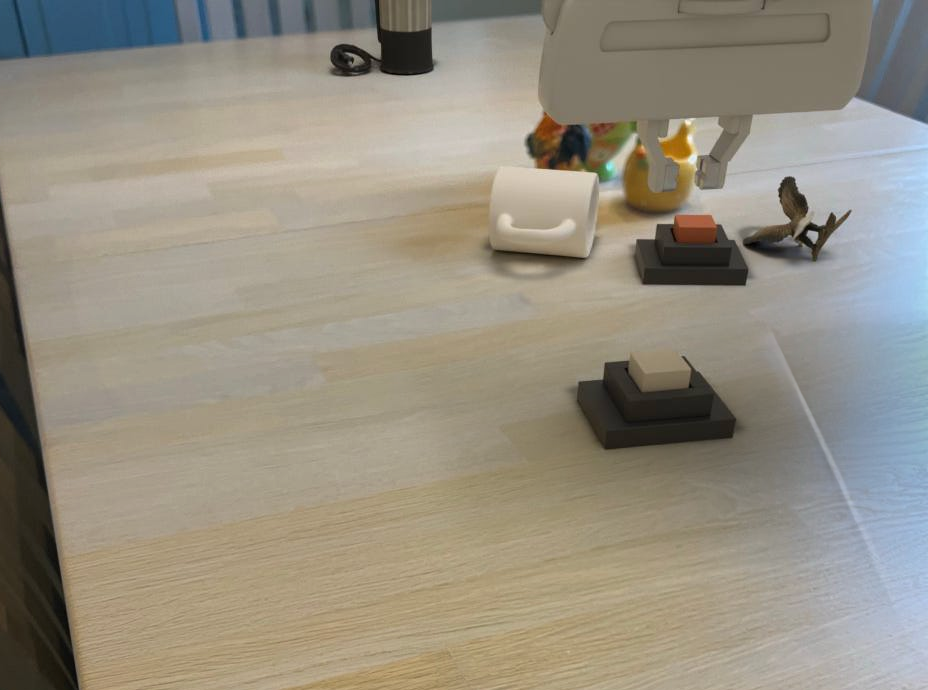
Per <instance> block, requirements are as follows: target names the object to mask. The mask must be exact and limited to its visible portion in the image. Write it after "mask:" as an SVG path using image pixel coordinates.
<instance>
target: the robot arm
mask: <svg viewBox="0 0 928 690" xmlns="http://www.w3.org/2000/svg"><path fill="white" fill-rule="evenodd" d="M540 11H541V17H542V21H543V23H544V26H545V28H546V30H545V35H544V40H543V45H542V50H541V51H542V52H541V58H540V67H539V74H538V85H537V87H538V88H537V98H538V102H539V105H540V106H541V108H542V109H543V111H544V112H545V114H546V115H547V116H548V117H549V118H550V119H552V121H554V122H555V123H556V124H557V125H560V126H571V125H572V126H575V125H593V124H613V123H626V122H627V123H630V122H636V128H635V131H636V133H637V136H638V138H639V140H640V143H641V145H642V148H643V149H644V152H645V155H646V157H647V159H648V160H649V164H648V173H647V188H648V190H650V191H651V192H652V193H653V194H660V193H670V192H676V191H677V188H678V181H677V178H678V177H679V175H680V166H681V164H680V163H678V162H677V161H675V159H674V158H672V157H671V156H670V157H669V156H667V157H666V155H665V153H664V150H663V147H662V145H661V143H660V140H659V139H665V138H667V137H668V135H669V126H670V120H684V119H701V118H704V119H705V118H717V119H718V120H717V125H718V126H719V127H720V128H722V129H723V130H722V132H721V133H720V135H719V137H718V138H717V140H716V141H715V144H714V145H713V146H712V148H711V150H710V152H709V153H708V154H701V155H697V157H696V163H695V167H696V169H697V170H696V171H695V173H694V185H695V187H697V188H699V190H701V191H705V190H721V189H723V188H724V186H725V183H726V177H727V170H728V164H729V162H731V161H732V159H733V158H734V157H735V155H736V154H737V152H738V151H739V149H740V148H741V147H742V145H743V144H744V142H745V140H746V139H747V138H748V137H749V135H750V134H751V127H752V122H753V116H758V115H759V116H760V115H778V114H795V113H811V112H815V113H816V112H830V111H831V112H832V111H842V110H843V109H844V108H846V106H847V105H848V104H849V103H850V102H851V101H852V100H853V98H854V97H855V96H856V95H857V93H859V90H860V87H861V85H862V81H863V77H864V73H865V67H866V63H867V58H868V54H869V53H868V51H869V47H870V39H871V33H872V26H873V17H874V0H541V7H540Z"/></svg>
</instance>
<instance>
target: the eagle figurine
mask: <svg viewBox="0 0 928 690" xmlns="http://www.w3.org/2000/svg"><path fill="white" fill-rule="evenodd" d="M796 180H797V179H796V178H795V176H790V175H788V176H785V177H784V178H783V179H782V180H781V182H780V183H779V187H778V189H777V192H778V195H777V196H778V198H779V204H780V205H781V208H782V212H783V214H784V215H785V216H786V217H787V218H788V219H789V220H790V221H789V222H788V223H785V224H771V225H767V226H766V225H765V226H763V227H762V228H759V229H758V230H757V231H755V232H754V233H753V234H752V235H750V236H746V237H745V238H743V241H742V243H743V244H746V245H747V244H752V243H758V242H766V243H768V244H774V243H780V242H782V241H784V239H786V238H788V237H789V236H791V237H792V239H791V240H792V241H794V243H795V244H798V245H799V246H800V247H804V245H805V247H807V248H809V249H811V256H812V258H811V259H812V261H813V262H816V261H818V257H819V253H820V252H821V250H822V248H823V246H824V245H825V244H826V243H827V241H828V239H830V237H831V235H833V233H835V231H837V229H838V228H839V227H841V226H842V224H843V223H844V222H845V221H846V220H847V219H848V218H849V216H850V215H851V213H852V211H853V210H852V209H849V210H848V211H846V213H844V214H843V215H842V216H841V217H840V218H838V220H837V216H836V215H835V214H834V212H833V211H831V212H830V213H829V216H828V217H827V220H826V221H825V224H821V225H818V224H816V223H814V222H812V219H813V217H814V215H815V211H814V210H812V211H811V212H810V213H809V203H808V200H807V198H806V195H805V194H803V193H801V192H800V191H799V187H798V186H797V182H796ZM808 213H809V214H808ZM807 214H808V215H807ZM808 232H815V233H817V239H816V240H815V241H814V242H815V243H814V242H813V241H812V239H811V238H810V237H809V236H807V235H808Z"/></svg>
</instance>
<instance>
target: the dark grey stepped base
mask: <svg viewBox="0 0 928 690" xmlns="http://www.w3.org/2000/svg"><path fill="white" fill-rule="evenodd" d="M715 224H716V226H717V231H716V237H715V243H676V240H675V237H674V235H673V225H674V223H656V225H655V226H656V227H655V234H654V238H636V242H635V247H634V248H635V250H634V258H635V261H636V265H637V269H638V272H639V277H640V280H641V284H642V285H645V286H648V285H649V286H650V285H651V286H654V285H655V286H742V287H743V286H746V285H747V280H748V275H749V270H750V268H749V267H748V265H747V262H746V261H745V259H744V256H743V255H742V251H741V250H740V249H739V246H738V244H737V242H736V240H735V239H729V237H728V236H727V234H726V231H725V229H724V227H723V224H721V223H715Z"/></svg>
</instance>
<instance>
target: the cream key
mask: <svg viewBox="0 0 928 690" xmlns="http://www.w3.org/2000/svg"><path fill="white" fill-rule="evenodd" d="M681 356H682V355H681V354H680V353H679V351H678V350H677V349H676V348H667V349H654V350H653V349H652V350H643V351H631V352H630V353H629V360H628V361H629V368H628V374H629V376H630V377H631V379H632V380H633V382H634V383H635V385H636V386H637V388H638V389H639V390H640V392H653V391H664V390H676V389H687V388H688V387H689V381H690V375H691V368H690V367H689V366H688V364H687V363H686V362H685V361H684V359H683V358H682V357H681Z"/></svg>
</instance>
